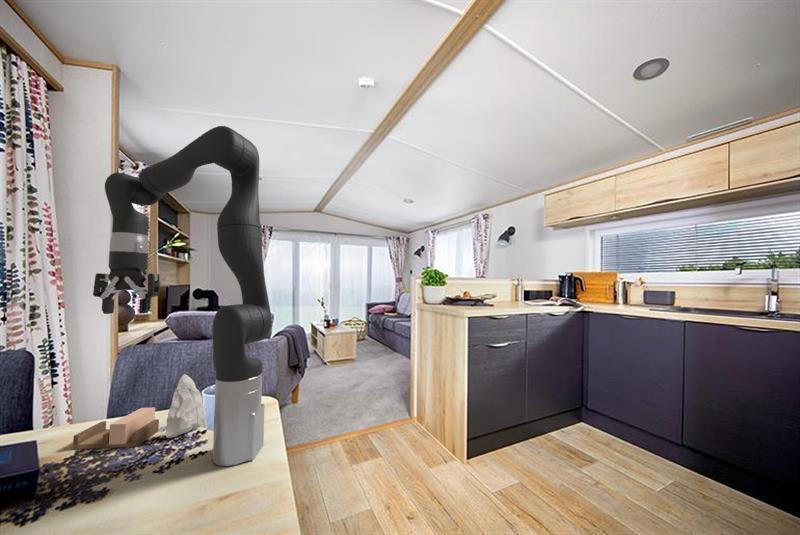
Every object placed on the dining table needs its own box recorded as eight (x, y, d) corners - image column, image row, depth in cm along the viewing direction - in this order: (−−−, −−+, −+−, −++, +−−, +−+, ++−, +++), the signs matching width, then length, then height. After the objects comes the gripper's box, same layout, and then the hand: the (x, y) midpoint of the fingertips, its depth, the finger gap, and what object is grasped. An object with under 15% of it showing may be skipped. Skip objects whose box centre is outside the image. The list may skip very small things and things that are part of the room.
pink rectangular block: (154, 425, 76) (155, 407, 76) (124, 444, 67) (125, 423, 67) (140, 425, 76) (141, 407, 76) (108, 444, 67) (110, 424, 67)
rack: (158, 431, 75) (158, 419, 75) (136, 446, 68) (136, 433, 68) (101, 433, 73) (102, 421, 74) (72, 449, 66) (73, 435, 67)
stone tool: (168, 443, 69) (171, 379, 70) (162, 440, 70) (165, 377, 71) (206, 428, 76) (209, 370, 77) (200, 425, 78) (202, 368, 79)
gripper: (168, 253, 81) (165, 312, 80) (113, 252, 79) (109, 312, 79) (147, 250, 73) (144, 315, 72) (85, 249, 72) (81, 315, 71)
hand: (126, 313), depth 75 cm, fingers open, 8 cm apart
